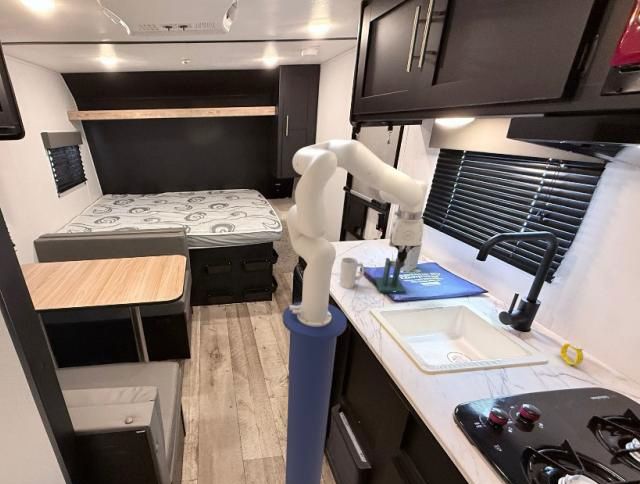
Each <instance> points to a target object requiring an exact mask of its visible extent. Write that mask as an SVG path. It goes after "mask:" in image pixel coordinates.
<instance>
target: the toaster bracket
mask: <svg viewBox="0 0 640 484" xmlns="http://www.w3.org/2000/svg"><path fill="white" fill-rule="evenodd" d="M398 260H399V259H398V258H397V257H396V258H395V261H398ZM391 261H392V260H390V258H389V257H386V258H385V262H384V269H383V273H382V274H383V275H382V276H374V278H373V280H374V282H375V285H376V288H377V289H378V292H379V293H380V294H394V295H395V294H396V295H406V289H405V288H404V285H403V284H402V282H401V281H400V279H399V277H400V272H401V270H400V268H398V267H393V274H392V277H390V272H391V271H390V270H391V267H390V266H391ZM393 291H396V292H393Z"/></svg>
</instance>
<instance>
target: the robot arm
mask: <svg viewBox="0 0 640 484" xmlns="http://www.w3.org/2000/svg"><path fill="white" fill-rule="evenodd" d="M292 167H293V170H294V172H296V173H297V174H298V175H301V177H300V179H299V180H298V182H297V185H296V187H295V191H294V200H295V204H294V205H292V206H291V207H290V208H289V210H288V211H287V215H286V226H287V230H288V235H289V240H290V242H291V247H292V249H293V251H294V253H296V254H297V255H298V256H299V257H301V259H304V260H305V261H306V263H307V264H306V267H305V269H304V271H303V274H302V294H301V295H302V296H301V299H302V300H301V302H302V303H301V305H298V306H294V305H292V304H290V305H289V306H290V310H293V313H295V314H296V313H297V317H298V320H299V321H300V322H302V323H303V324H305V325H308V326H312V327H321V326H325V325H327V324H329V323H330V322H331V317H332V316H331V314H330V312H329V311H328V304H329V300H330V291H331V290H330V289H331V279H332V271H333V267H334V264H335V261H336V257H337V251H336V248H335V246H334V245H333V243H332V242H330V241H329V240H327V239H326V238H324V237H323V236H324V235H325V234H326V233H327V229H328V219H327V213H326V207H325V201H324V191H325V187H326V186H327V184H328V182H329V181H330V179H331V178H332V177H333V175H334V174H335V172H336V170H337V168H341V169H344V170H345V171H347V172H348V173H349V174H350V175H352V176H353V177H354V178H356V179H357V180H358V181H359V182H360V183H362V184H363V185H365V186H367V187H369V188H372V189H374V190H377V191H379V197H380V199H381V200H382V201H384V202H386V203H388V204H393V205H396V206H399V209H398V210H397V211H394V216H395V219H394V221H393V224H392V228H391V232H390V236H389V243H388V246H389V247H393V248H395V249H396V250H397V255H396V258H398V259H399V261H400V262H402V261H403V262H405V259H406V258H407V253H408V252H409V250H411V249H412V248H415V247H419V246H420V244H421V243H423V234H424V219H423V218H422V217H423V216H422V215H423V210H424V205H425V201H426V197H427V191H428V182H427V181H426V180H423V179H413V178H412V177H411V176H409V175H407V174H406V173H404V172H403V171H401V170H398V169H397V168H395V167H393V166H391V165H390V164H388V163H385V162H384V161H383V160H382V159H380V158H379V156H377V155H376V154H374V152H372V151H371V150H370V149H369V148H368V147H367V146H365V145H364V144H363V143H362V142H360V141H359V140H356V139H347V138H334V139H331V140H326V141H323V142H318V143H316V144H315V143H314V144H310V145H308V146H304V147H302V148H300V149H298V150H297V151H296V152H295V153H294V155H293V158H292ZM403 246H404V249H403Z"/></svg>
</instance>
